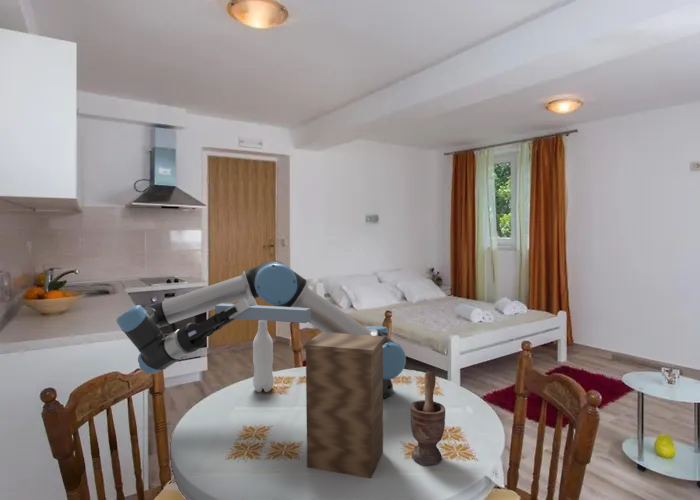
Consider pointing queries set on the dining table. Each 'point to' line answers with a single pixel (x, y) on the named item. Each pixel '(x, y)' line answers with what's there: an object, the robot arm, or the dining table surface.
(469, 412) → the dining table surface
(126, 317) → the robot arm
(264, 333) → the water bottle
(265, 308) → the bar
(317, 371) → the stand
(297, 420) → the dining table surface
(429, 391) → the mortar and pestle
